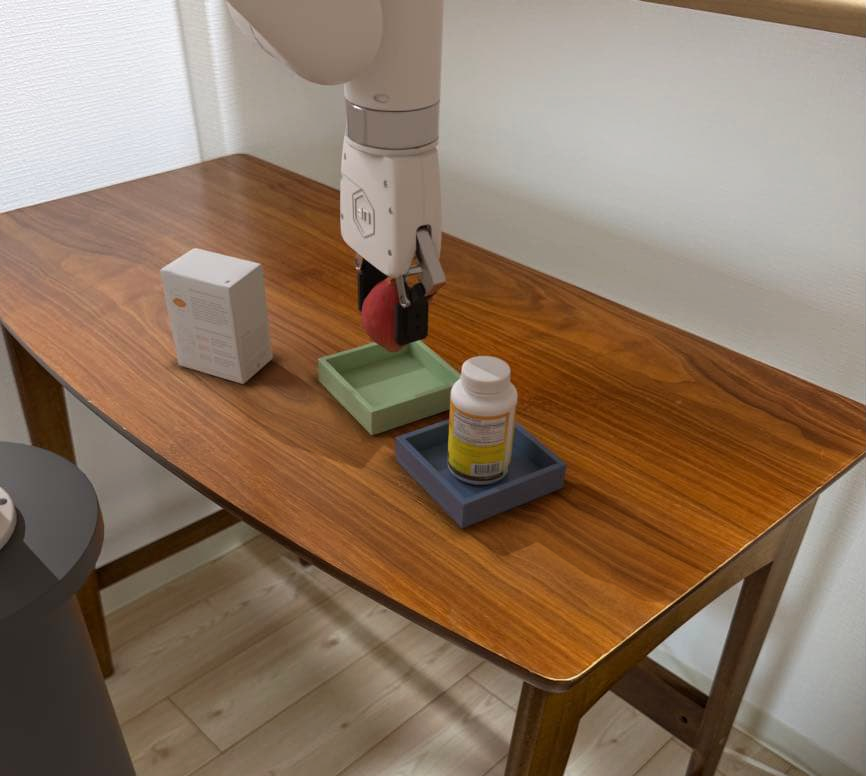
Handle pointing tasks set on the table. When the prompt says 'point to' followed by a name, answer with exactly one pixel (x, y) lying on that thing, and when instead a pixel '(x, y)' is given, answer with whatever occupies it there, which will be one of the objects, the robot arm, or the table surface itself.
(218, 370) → the small box
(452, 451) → the supplement bottle
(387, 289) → the onion
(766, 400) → the table surface
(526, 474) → the slate tray
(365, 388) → the green tray
